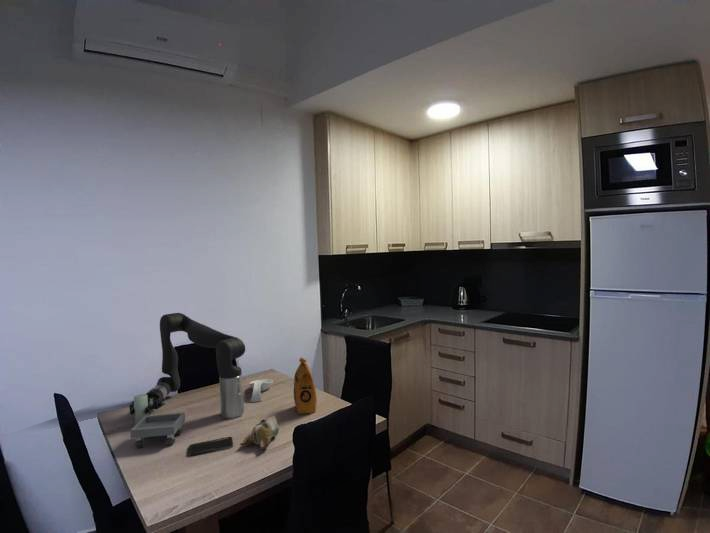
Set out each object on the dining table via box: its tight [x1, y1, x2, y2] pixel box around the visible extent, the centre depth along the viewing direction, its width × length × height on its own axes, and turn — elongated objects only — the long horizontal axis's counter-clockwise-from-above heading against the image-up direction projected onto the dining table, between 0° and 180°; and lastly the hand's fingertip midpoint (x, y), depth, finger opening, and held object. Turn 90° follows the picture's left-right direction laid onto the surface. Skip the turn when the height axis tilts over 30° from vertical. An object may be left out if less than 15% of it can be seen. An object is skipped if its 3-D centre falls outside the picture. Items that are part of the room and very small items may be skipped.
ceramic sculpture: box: [239, 414, 280, 450], centre depth 137 cm, size 11×9×15 cm
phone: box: [187, 436, 234, 457], centre depth 135 cm, size 8×1×15 cm
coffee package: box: [293, 357, 318, 415], centre depth 166 cm, size 10×12×22 cm
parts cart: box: [129, 412, 186, 449], centre depth 141 cm, size 15×12×8 cm
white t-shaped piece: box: [249, 378, 273, 403], centre depth 188 cm, size 24×12×7 cm, turn 8°
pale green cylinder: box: [133, 393, 150, 426], centre depth 155 cm, size 5×5×12 cm
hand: (138, 411), depth 153 cm, fingers closed on pale green cylinder, 5 cm apart
